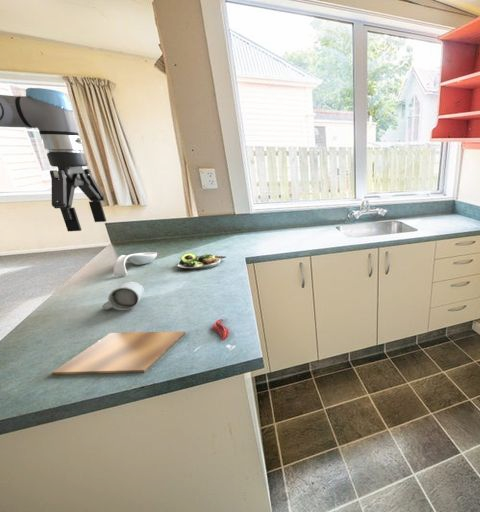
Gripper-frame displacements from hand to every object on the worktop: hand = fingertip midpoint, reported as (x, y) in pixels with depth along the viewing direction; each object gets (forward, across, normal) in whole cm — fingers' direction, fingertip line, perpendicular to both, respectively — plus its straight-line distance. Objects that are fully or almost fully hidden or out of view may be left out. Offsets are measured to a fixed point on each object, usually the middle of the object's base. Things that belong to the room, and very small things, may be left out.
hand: (88, 226), depth 89 cm
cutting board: (+27, -31, -15) cm, 44 cm away
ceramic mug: (+27, -2, -4) cm, 27 cm away
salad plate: (+27, +37, -17) cm, 49 cm away
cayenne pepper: (+27, -28, -36) cm, 53 cm away
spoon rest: (+27, +41, +8) cm, 50 cm away
